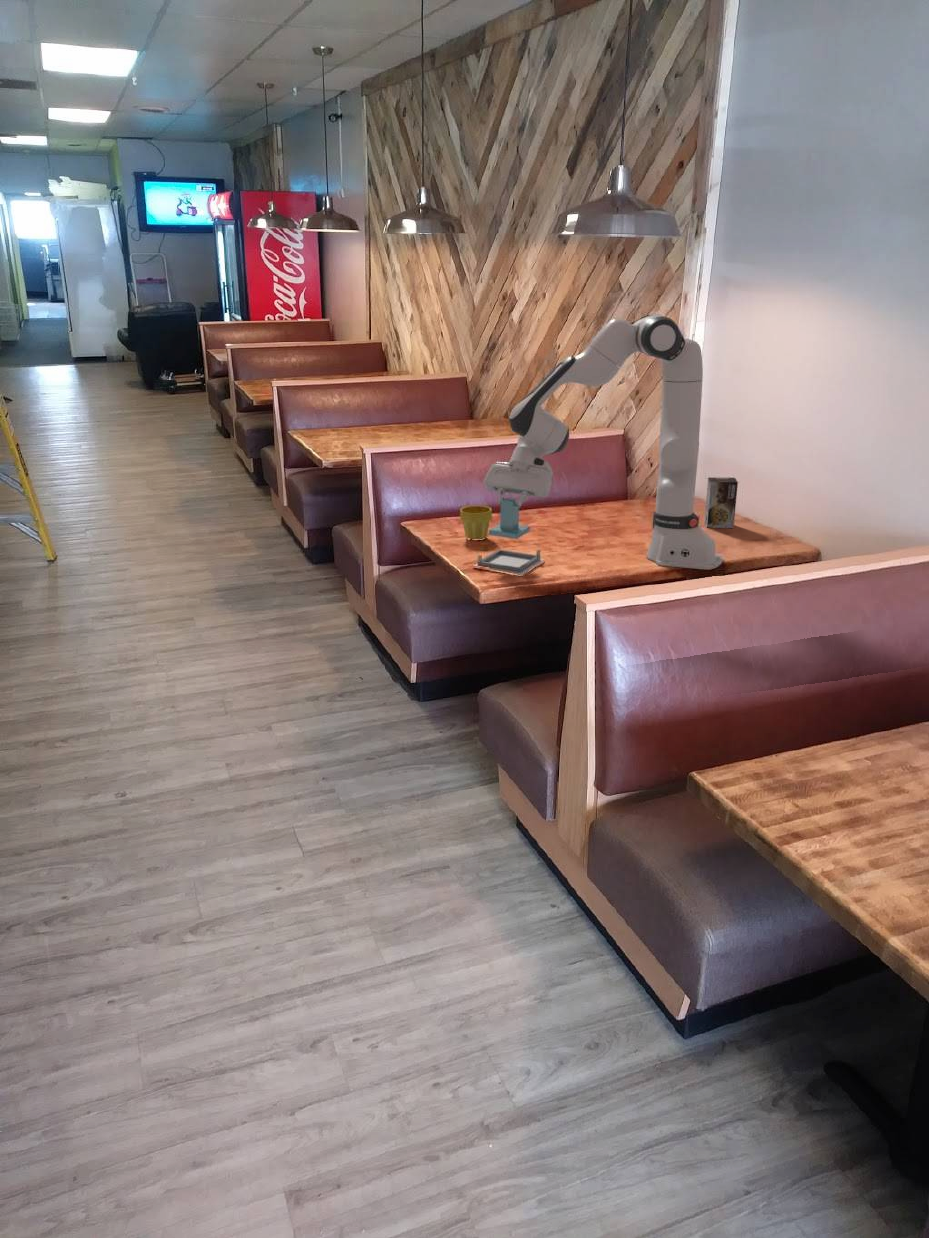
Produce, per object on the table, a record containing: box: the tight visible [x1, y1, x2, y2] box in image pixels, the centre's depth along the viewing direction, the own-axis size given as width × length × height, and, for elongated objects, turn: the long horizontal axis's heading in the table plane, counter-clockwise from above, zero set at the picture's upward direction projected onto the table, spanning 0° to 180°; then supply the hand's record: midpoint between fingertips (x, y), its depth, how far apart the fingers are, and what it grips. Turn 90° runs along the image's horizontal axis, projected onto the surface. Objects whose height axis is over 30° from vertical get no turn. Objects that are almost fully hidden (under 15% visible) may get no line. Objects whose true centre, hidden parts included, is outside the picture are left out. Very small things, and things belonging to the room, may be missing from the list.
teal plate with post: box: [488, 497, 531, 540], centre depth 265 cm, size 9×9×10 cm
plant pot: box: [459, 505, 493, 539], centre depth 295 cm, size 10×10×10 cm
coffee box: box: [703, 477, 739, 529], centre depth 306 cm, size 9×6×16 cm
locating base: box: [473, 548, 546, 576], centre depth 270 cm, size 16×16×4 cm
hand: (508, 504), depth 263 cm, fingers closed on teal plate with post, 4 cm apart
